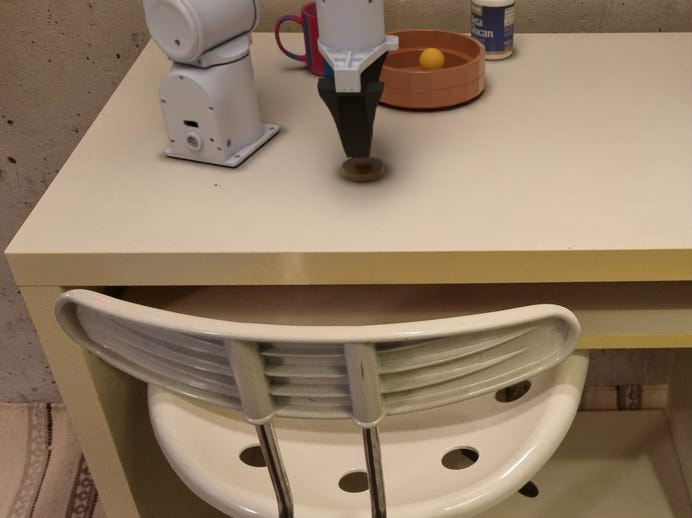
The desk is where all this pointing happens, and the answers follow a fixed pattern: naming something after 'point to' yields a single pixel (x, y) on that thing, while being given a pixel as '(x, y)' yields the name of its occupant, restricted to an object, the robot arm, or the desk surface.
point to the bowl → (434, 85)
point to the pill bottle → (493, 26)
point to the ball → (431, 60)
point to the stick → (363, 168)
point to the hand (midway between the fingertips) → (360, 139)
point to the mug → (307, 41)
